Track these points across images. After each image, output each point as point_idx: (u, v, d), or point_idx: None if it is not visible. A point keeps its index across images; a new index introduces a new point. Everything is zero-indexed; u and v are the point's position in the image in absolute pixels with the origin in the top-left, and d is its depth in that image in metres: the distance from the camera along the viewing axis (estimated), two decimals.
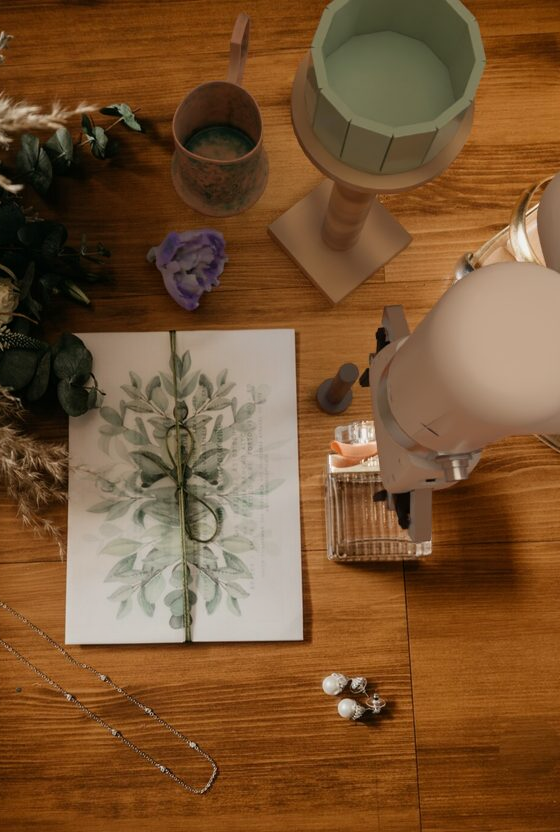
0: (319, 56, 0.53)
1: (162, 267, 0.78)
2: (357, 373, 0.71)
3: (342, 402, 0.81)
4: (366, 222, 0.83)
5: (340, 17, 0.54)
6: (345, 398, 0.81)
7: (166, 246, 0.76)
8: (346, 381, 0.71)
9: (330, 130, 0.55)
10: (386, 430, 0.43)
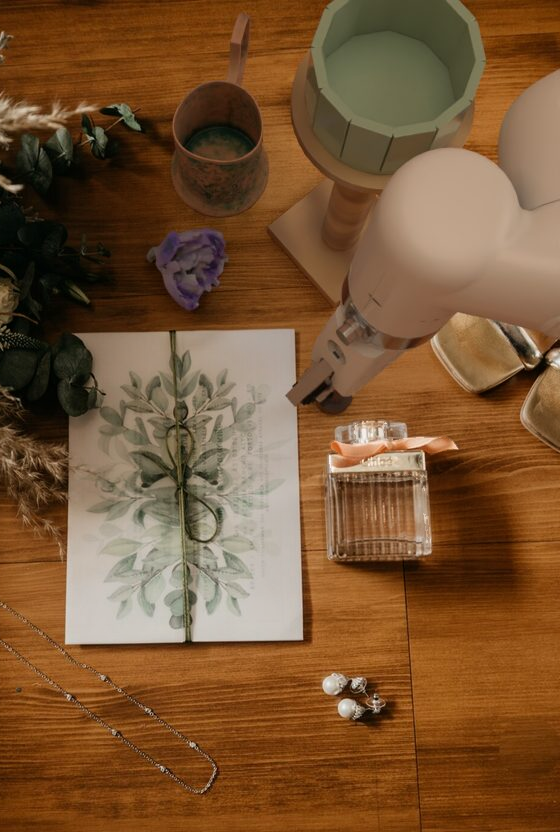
0: (319, 56, 0.53)
1: (162, 267, 0.78)
2: None
3: (342, 402, 0.81)
4: (366, 222, 0.83)
5: (340, 17, 0.54)
6: (345, 398, 0.81)
7: (166, 246, 0.76)
8: None
9: (330, 130, 0.55)
10: (345, 275, 0.49)
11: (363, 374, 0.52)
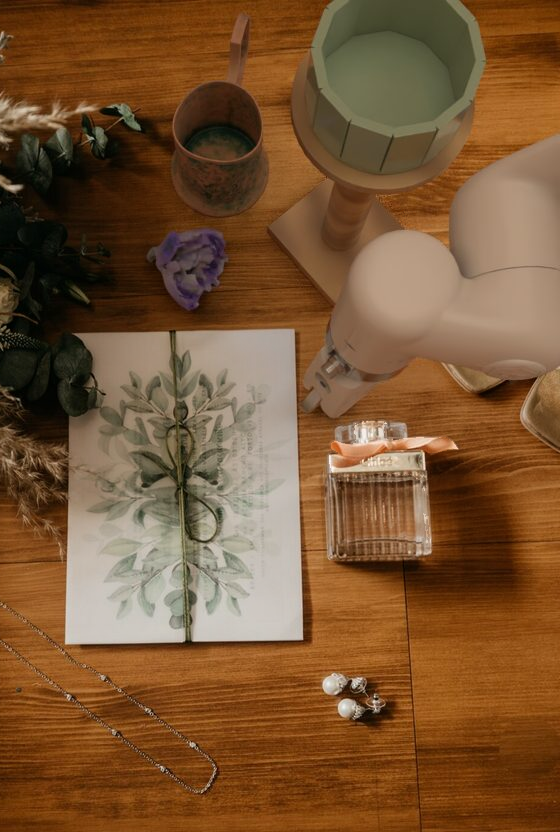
0: (319, 56, 0.53)
1: (162, 267, 0.78)
2: None
3: None
4: (366, 222, 0.83)
5: (340, 17, 0.54)
6: None
7: (166, 246, 0.76)
8: None
9: (330, 130, 0.55)
10: None
11: (345, 401, 0.61)
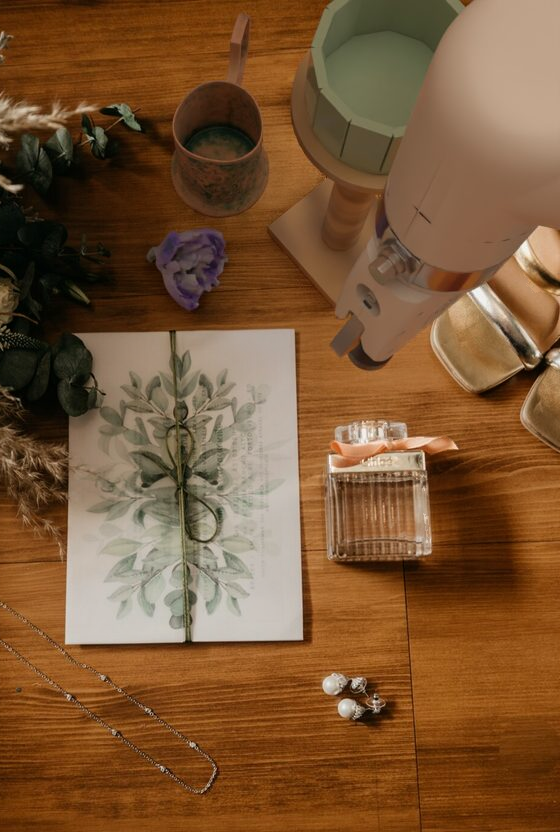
0: (319, 56, 0.53)
1: (162, 267, 0.78)
2: None
3: None
4: (366, 222, 0.83)
5: (340, 17, 0.54)
6: None
7: (166, 246, 0.76)
8: None
9: (330, 130, 0.55)
10: None
11: (402, 327, 0.41)
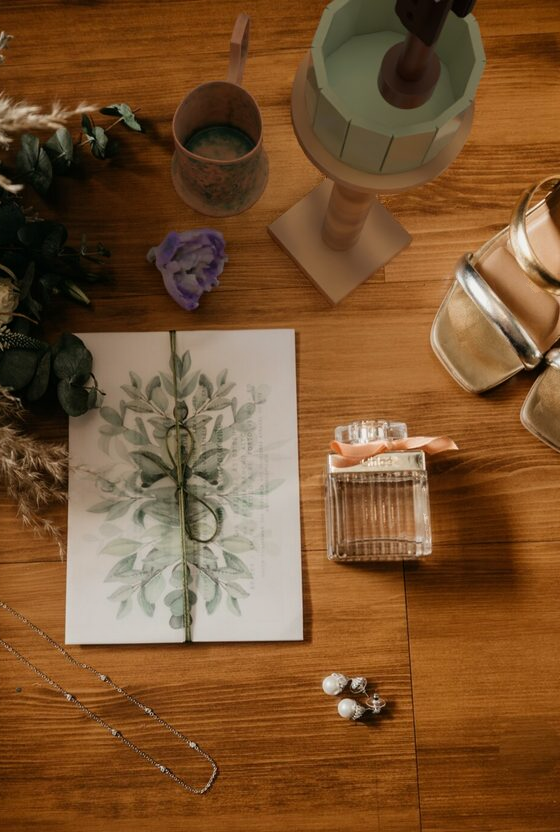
0: (319, 56, 0.53)
1: (162, 267, 0.78)
2: None
3: (424, 79, 0.48)
4: (366, 222, 0.83)
5: (340, 17, 0.54)
6: (429, 72, 0.48)
7: (166, 246, 0.76)
8: None
9: (330, 130, 0.55)
10: None
11: None
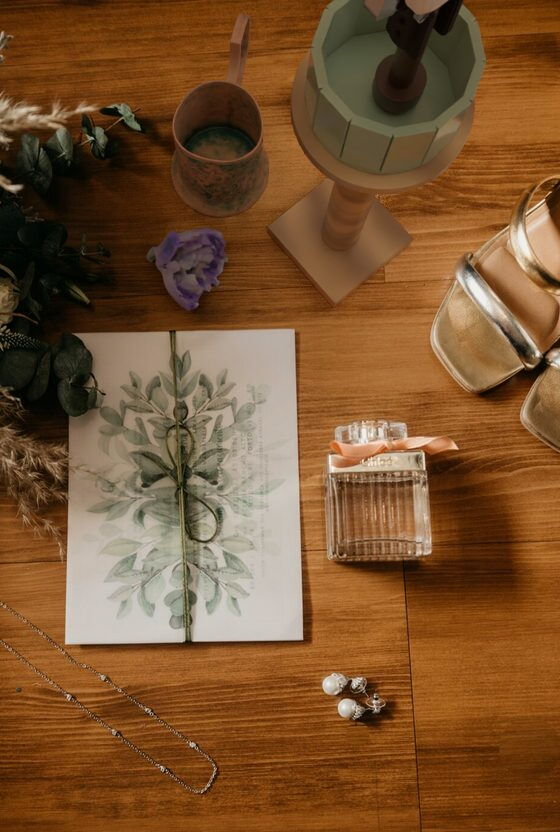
0: (319, 56, 0.53)
1: (162, 267, 0.78)
2: None
3: (412, 86, 0.55)
4: (366, 222, 0.83)
5: (340, 17, 0.54)
6: (416, 81, 0.55)
7: (166, 246, 0.76)
8: None
9: (330, 130, 0.55)
10: None
11: None
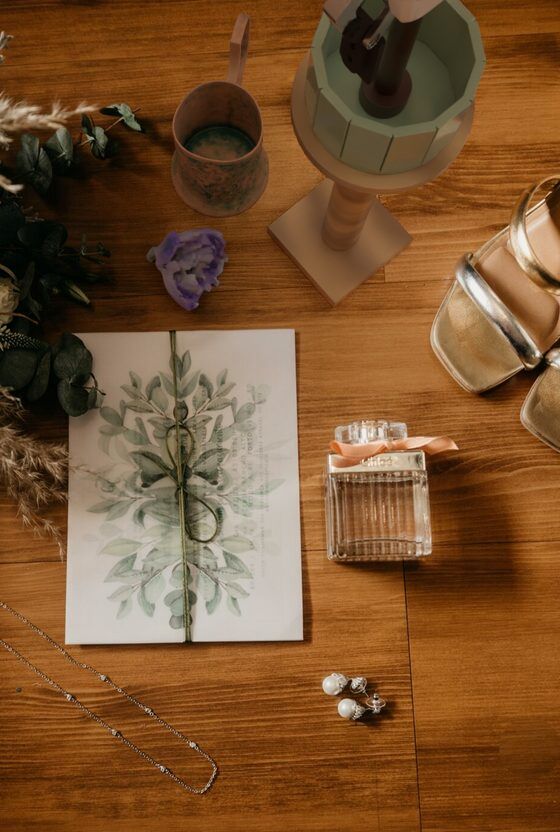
0: (319, 56, 0.53)
1: (162, 267, 0.78)
2: None
3: (398, 93, 0.56)
4: (366, 222, 0.83)
5: None
6: (402, 88, 0.56)
7: (166, 246, 0.76)
8: None
9: (330, 130, 0.55)
10: None
11: None
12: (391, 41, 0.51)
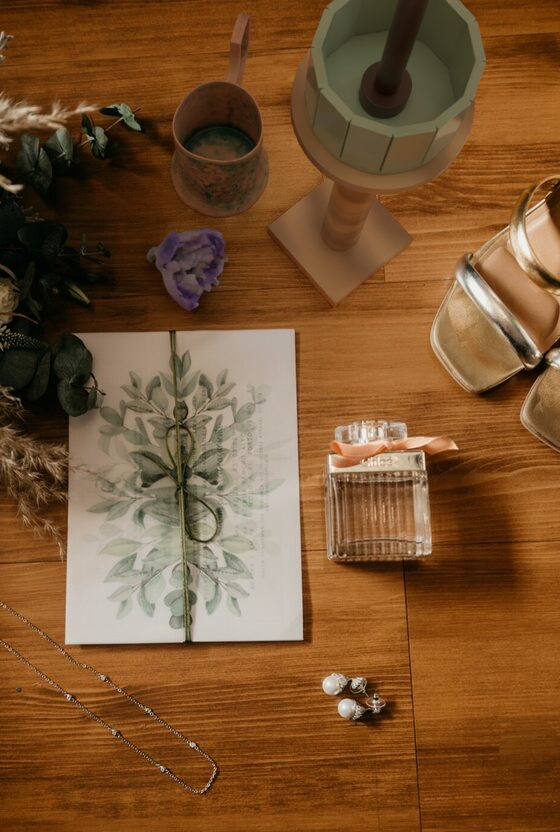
0: (319, 56, 0.53)
1: (162, 267, 0.78)
2: None
3: (398, 93, 0.56)
4: (366, 222, 0.83)
5: (340, 17, 0.54)
6: (402, 88, 0.56)
7: (166, 246, 0.76)
8: None
9: (330, 130, 0.55)
10: None
11: None
12: (391, 41, 0.51)
